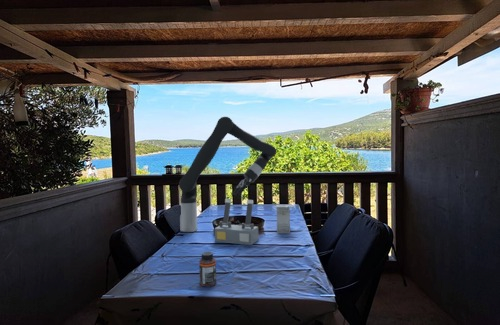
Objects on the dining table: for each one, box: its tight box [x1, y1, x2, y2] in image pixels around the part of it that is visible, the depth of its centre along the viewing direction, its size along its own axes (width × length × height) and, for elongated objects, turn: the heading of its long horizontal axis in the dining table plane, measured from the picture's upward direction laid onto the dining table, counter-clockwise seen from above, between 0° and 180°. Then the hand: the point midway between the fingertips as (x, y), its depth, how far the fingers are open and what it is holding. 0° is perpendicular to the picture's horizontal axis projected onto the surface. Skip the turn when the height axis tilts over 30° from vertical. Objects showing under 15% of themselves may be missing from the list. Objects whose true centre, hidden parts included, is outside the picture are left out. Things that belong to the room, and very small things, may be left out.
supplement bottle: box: [198, 251, 217, 287], centre depth 114 cm, size 6×6×11 cm
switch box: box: [214, 220, 259, 246], centre depth 168 cm, size 21×10×10 cm, turn 68°
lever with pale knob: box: [222, 198, 232, 226], centre depth 172 cm, size 3×2×14 cm, turn 68°
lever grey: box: [244, 199, 254, 227], centre depth 167 cm, size 3×2×14 cm, turn 68°
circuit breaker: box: [276, 204, 291, 234], centre depth 188 cm, size 8×14×15 cm, turn 174°
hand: (236, 193), depth 180 cm, fingers open, 8 cm apart
